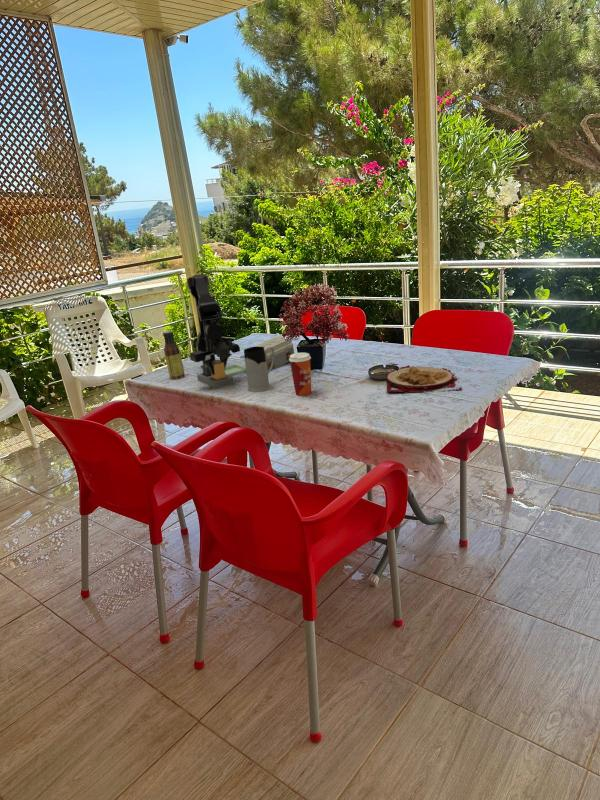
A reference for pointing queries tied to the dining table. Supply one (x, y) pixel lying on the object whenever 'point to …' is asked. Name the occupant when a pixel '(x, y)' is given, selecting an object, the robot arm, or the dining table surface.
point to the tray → (235, 370)
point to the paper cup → (301, 373)
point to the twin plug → (206, 371)
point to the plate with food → (419, 379)
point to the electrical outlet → (277, 351)
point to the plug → (218, 370)
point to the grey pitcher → (257, 368)
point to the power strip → (215, 381)
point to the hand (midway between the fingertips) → (218, 373)
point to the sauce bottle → (173, 357)
